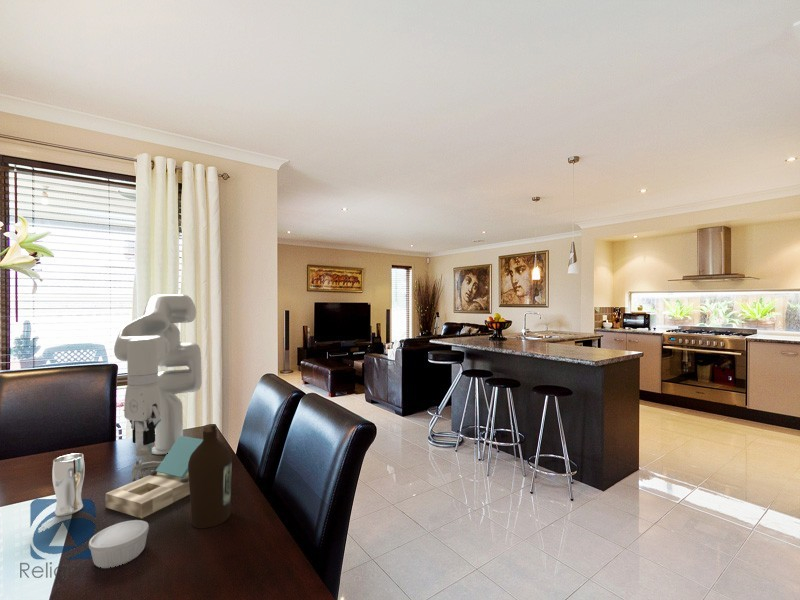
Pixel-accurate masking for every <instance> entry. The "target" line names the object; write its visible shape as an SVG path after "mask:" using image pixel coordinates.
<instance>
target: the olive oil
mask: <svg viewBox="0 0 800 600" xmlns="http://www.w3.org/2000/svg"><path fill="white" fill-rule="evenodd" d="M202 427H203V428H202V429H203V431H202V439H203V441H202V443H201V444H200V445H199V446H198V447H197V448H196V449H195V450H194V452H193V453H192V454H191V456H190V459H189V462H188V474H189V487H190V494H189V500H190V519H191V520H190V521H191V526H193V527H194V528H197V529H208V528H213V527H216V526H219V525H221V524H222V523H224V522H226V521H227V520H228V519H229V518H230V516H231V500H232V499H231V497H232V493H231V492H232V470H233V469H232V467H233V465H232V464H233V457H232V456H233V455H232V452H231V450H230V449H229V447H228V446H227V445H226V444H224V443H223V442H222V441H221V440H219V439H218V430H217V424H215V423H209V424H205V425H203V426H202Z"/></svg>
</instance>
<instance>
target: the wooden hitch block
mask: <svg viewBox="0 0 800 600" xmlns="http://www.w3.org/2000/svg"><path fill="white" fill-rule="evenodd" d="M187 496H190V487H189V474H188V472H187V474H186V476H185V477H182V478H181V477H176V476H172V475H168V474H163V473H159V472H157V471H156V470H149V475H146V476H144V477H142V478H140V479H139V478H138V479H137V480H136V479H135V480H133V481H131V482H129V483H127V484H125V485H123V486H120V487H118V488H115V489H113V490H110V491H108V492H106V493H105V508H106V509H110V510H112V511H113V510H114V511H117V512H120V513H123V514H126V515H129V516H132V517H136V518H139V519H144V518H146V517H147V516H150V515H151V514H154V513H156V512H158V511H159V510H162V509H163V508H165V507H168V506H169V505H172V504H173V503H176V502H177V501H180V500H181V499H183V498H185V497H187Z"/></svg>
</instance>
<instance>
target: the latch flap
mask: <svg viewBox="0 0 800 600" xmlns="http://www.w3.org/2000/svg"><path fill="white" fill-rule="evenodd" d="M202 441H203V438H198V437H197V438H196V437H190V436H185V435H183V436H179V437H178V439H177V440H176V442H175V443H174V445H173V446H172V448H171V449H170V451H169V452H168V454H165V457H164V458H162V459H163V460H162V462H161V461H160V462H161V464H160V465H159V467H156V469H155V471H157V472H159V473H163V474H168V475H172V476H176V477H181V478H182V477H185V476H186V474H187V472H188V462H189V459H190V456H191V454H192V453H193V452H194V450H195V449H196V448H197V447H198V446H199V445H200V444H201V443H202Z"/></svg>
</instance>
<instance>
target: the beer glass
mask: <svg viewBox="0 0 800 600" xmlns="http://www.w3.org/2000/svg"><path fill="white" fill-rule="evenodd" d="M85 468H86V467H85V460H84V454H83V453H82V452H81V453H80V452H79V453H70V454H64V455H62V456H59V457H56V458H54V459H53V460H52V471H51V472H52V473H51V475H52V477H51V479H52V485H53V490H54V494H55V498H56V505H55V506H56V507H55V509H54V515H55V516H56V517H66V516H69V515H72V514H75V513H77V512H79V511H81V510H82V509H83V508H84V504H83V500H82V491H83V490H82V489H83V483H84V478H85Z"/></svg>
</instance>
